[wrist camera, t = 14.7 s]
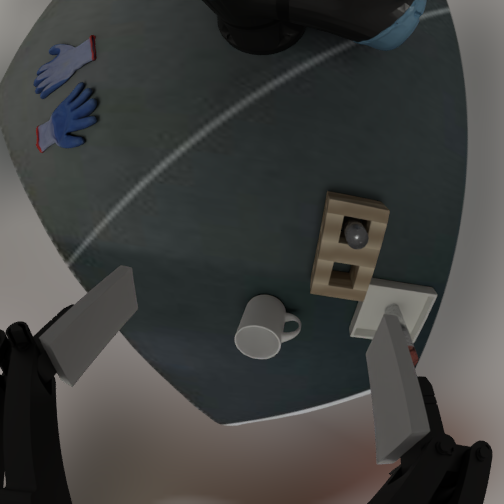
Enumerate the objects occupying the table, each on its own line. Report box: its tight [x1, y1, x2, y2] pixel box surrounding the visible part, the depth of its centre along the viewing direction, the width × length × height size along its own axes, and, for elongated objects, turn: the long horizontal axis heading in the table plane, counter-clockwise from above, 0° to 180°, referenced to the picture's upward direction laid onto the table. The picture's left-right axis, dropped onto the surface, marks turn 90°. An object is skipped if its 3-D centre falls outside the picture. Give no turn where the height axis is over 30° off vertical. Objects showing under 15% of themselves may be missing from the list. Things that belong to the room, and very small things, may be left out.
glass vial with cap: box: [385, 304, 418, 366], centre depth 44 cm, size 3×3×16 cm
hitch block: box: [310, 191, 390, 302], centre depth 46 cm, size 17×10×6 cm, turn 175°
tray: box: [349, 278, 437, 343], centre depth 50 cm, size 13×16×3 cm
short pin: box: [342, 216, 369, 249], centre depth 43 cm, size 3×3×9 cm
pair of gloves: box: [34, 35, 97, 153], centre depth 44 cm, size 32×26×4 cm
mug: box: [235, 295, 301, 359], centre depth 53 cm, size 9×12×11 cm
